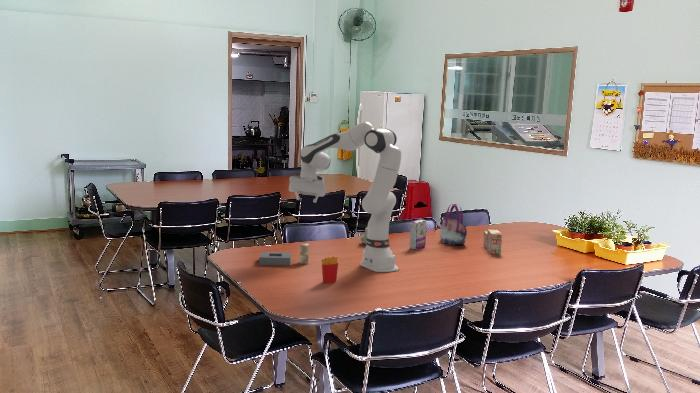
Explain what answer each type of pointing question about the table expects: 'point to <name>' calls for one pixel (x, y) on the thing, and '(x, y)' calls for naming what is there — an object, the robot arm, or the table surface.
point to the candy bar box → (417, 234)
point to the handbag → (453, 228)
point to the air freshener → (364, 236)
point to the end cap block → (275, 258)
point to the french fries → (329, 269)
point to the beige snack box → (493, 241)
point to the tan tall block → (304, 253)
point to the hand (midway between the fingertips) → (306, 200)
